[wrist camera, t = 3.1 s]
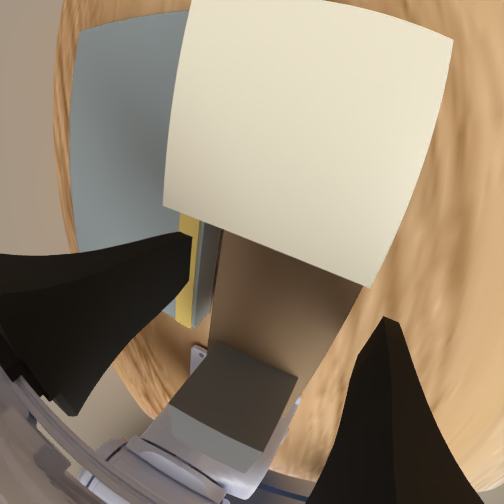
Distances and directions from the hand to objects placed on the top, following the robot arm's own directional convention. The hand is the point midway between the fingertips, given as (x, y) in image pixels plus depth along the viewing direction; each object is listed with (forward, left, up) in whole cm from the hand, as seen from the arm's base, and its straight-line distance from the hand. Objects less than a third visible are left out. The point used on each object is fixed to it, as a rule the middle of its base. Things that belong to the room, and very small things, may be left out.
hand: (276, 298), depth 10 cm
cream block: (0, -6, 0) cm, 6 cm away
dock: (+11, -1, -5) cm, 12 cm away
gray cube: (0, +6, 0) cm, 6 cm away
